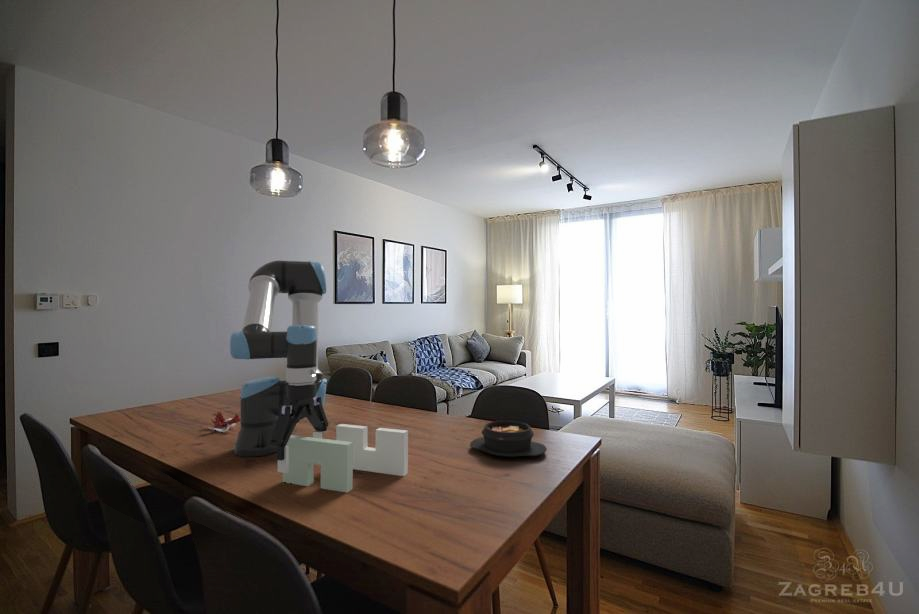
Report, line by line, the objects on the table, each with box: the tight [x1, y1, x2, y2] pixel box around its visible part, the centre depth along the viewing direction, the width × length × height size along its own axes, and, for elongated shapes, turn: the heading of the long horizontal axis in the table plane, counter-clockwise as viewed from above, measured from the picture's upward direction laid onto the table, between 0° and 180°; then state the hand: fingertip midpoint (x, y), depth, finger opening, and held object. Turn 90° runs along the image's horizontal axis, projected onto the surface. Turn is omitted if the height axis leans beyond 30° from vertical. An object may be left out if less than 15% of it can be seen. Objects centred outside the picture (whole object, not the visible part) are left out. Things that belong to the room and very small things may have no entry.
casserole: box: [469, 420, 547, 458], centre depth 137 cm, size 25×19×8 cm
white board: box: [335, 423, 409, 477], centre depth 121 cm, size 22×2×12 cm, turn 72°
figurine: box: [207, 410, 241, 433], centre depth 160 cm, size 15×12×7 cm
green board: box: [282, 434, 354, 493], centre depth 110 cm, size 20×2×12 cm, turn 72°
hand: (301, 463), depth 111 cm, fingers open, 13 cm apart
